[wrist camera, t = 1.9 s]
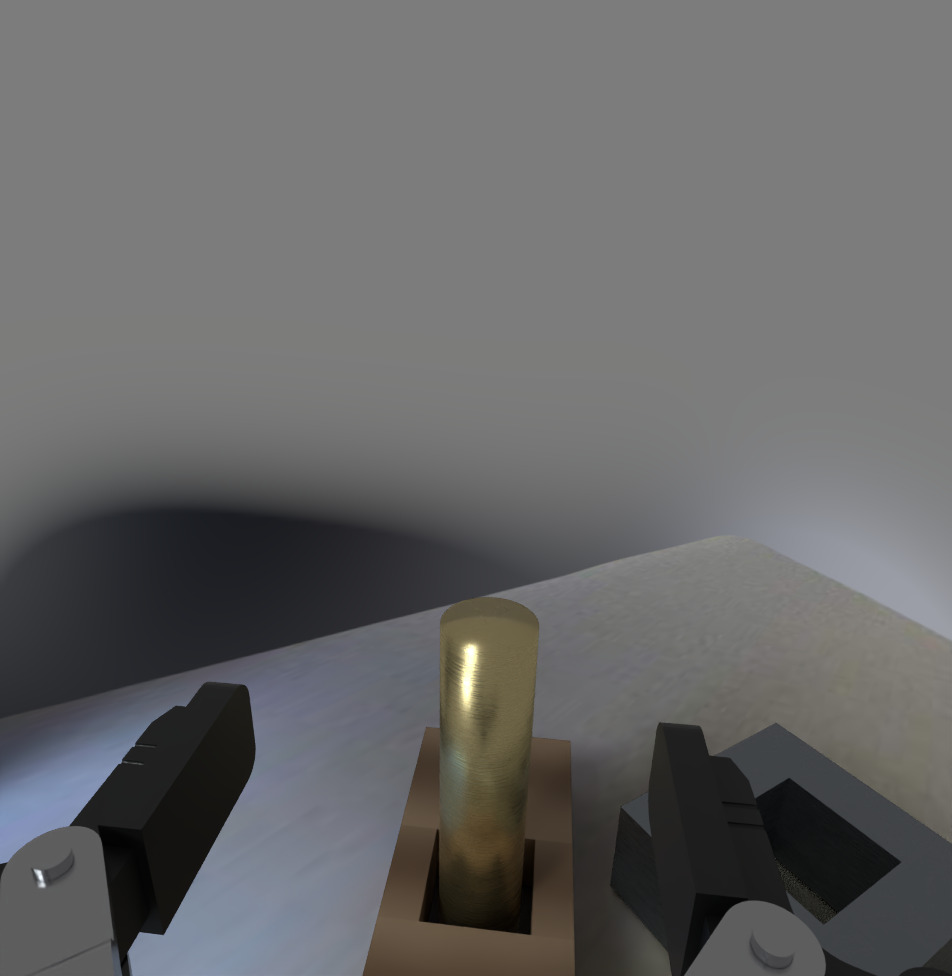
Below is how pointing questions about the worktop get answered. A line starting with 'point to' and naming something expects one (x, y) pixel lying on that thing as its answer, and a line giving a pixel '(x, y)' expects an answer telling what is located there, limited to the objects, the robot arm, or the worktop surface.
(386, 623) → the worktop surface
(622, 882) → the seat block
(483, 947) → the beam
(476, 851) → the axle
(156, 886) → the robot arm
